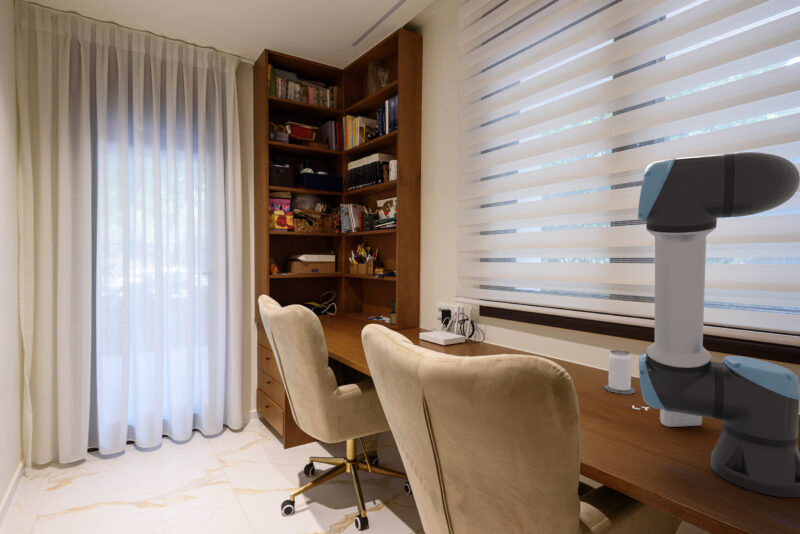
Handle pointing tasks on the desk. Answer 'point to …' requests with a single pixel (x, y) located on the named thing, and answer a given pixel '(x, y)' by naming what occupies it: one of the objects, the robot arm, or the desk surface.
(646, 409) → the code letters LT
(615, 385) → the can
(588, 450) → the desk surface
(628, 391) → the felt coaster
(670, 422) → the photo printer
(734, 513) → the desk surface
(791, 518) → the desk surface
